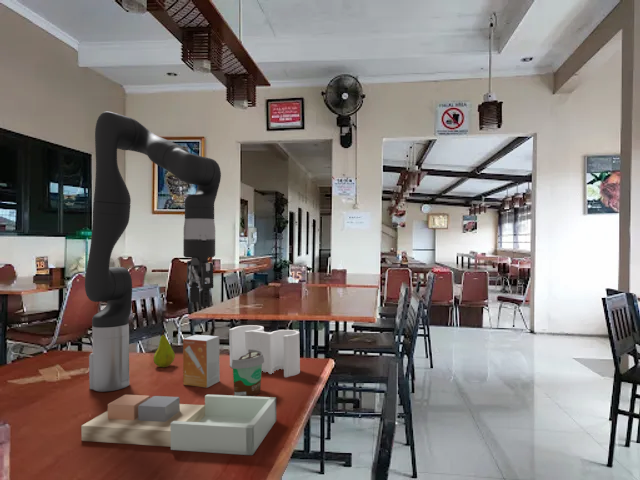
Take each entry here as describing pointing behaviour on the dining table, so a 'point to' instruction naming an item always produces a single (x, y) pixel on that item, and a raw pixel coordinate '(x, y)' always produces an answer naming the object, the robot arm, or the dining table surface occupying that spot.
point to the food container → (248, 373)
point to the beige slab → (138, 428)
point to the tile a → (126, 407)
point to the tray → (227, 425)
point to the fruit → (164, 353)
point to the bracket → (267, 347)
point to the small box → (201, 360)
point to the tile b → (158, 408)
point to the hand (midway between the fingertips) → (199, 304)
